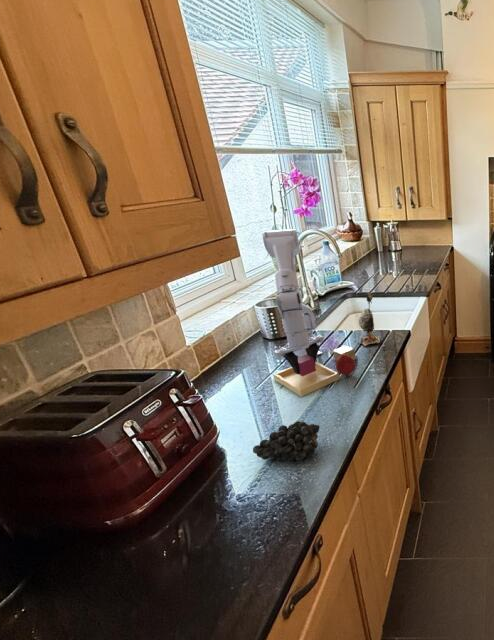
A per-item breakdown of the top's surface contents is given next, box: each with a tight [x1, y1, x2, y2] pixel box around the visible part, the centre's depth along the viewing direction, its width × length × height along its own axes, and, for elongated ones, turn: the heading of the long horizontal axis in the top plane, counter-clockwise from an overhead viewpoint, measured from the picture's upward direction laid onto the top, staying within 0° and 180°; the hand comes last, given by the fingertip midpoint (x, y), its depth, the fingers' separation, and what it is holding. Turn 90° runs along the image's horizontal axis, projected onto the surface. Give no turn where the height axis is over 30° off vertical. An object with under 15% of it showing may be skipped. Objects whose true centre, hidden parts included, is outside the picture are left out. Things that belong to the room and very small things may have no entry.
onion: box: [335, 353, 356, 377], centre depth 127 cm, size 6×6×8 cm
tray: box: [273, 361, 341, 397], centre depth 127 cm, size 17×13×2 cm
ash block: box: [332, 345, 357, 362], centre depth 138 cm, size 5×5×4 cm
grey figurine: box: [358, 291, 381, 347], centre depth 150 cm, size 8×11×20 cm
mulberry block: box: [298, 355, 316, 376], centre depth 125 cm, size 4×4×4 cm
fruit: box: [252, 420, 320, 462], centre depth 92 cm, size 9×8×15 cm
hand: (305, 369), depth 126 cm, fingers closed on mulberry block, 4 cm apart
